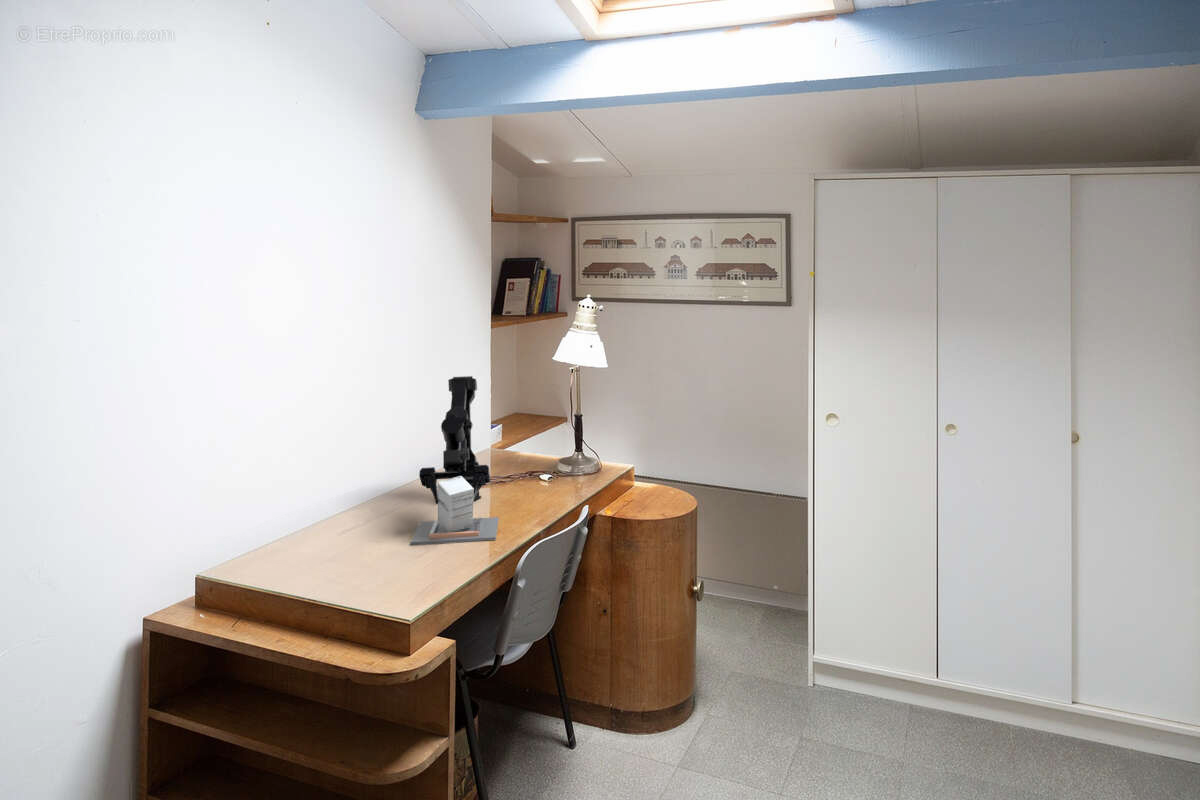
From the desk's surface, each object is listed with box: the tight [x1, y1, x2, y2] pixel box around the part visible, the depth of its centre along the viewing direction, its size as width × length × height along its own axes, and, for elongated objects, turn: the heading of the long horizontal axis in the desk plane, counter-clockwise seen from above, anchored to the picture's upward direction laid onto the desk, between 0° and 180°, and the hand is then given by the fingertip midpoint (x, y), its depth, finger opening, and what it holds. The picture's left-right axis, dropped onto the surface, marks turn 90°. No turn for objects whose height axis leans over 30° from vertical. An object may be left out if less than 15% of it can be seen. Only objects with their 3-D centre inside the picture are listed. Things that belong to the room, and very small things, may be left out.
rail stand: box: [410, 516, 500, 546], centre depth 216 cm, size 18×22×2 cm
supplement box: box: [437, 476, 474, 533], centre depth 214 cm, size 7×7×13 cm
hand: (454, 502), depth 213 cm, fingers closed on supplement box, 9 cm apart
